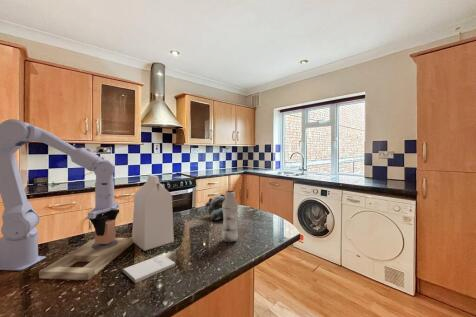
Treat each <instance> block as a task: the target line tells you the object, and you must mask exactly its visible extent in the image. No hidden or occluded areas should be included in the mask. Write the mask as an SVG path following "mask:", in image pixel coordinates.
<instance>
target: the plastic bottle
mask: <svg viewBox="0 0 476 317" xmlns="http://www.w3.org/2000/svg"><path fill="white" fill-rule="evenodd" d="M225 197H226V198H225V200H224V201H223V203H222V209H223V218H222V219H223V220H222V229H221V239H222V240H223V241H224V242H226V243H233V242H235V241H237V240H238V237H239V236H238V235H239V233H238V232H239V231H238V223H237V222H238V221H237V220H238V210H239V202H238V200H237V199H236V191H235V190H226V191H225Z"/></svg>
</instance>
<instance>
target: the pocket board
mask: <svg viewBox="0 0 476 317" xmlns="http://www.w3.org/2000/svg"><path fill="white" fill-rule="evenodd" d="M133 243H134V242H133V238H132V237H115V239H114V240H113V241H111V242H110V243H108V244H95V238H93V239H90V240H89V241H88V242H87V243H84V244H83V245H81V246H79V247H78V248H76V249H74V250H72V251H71V252H68V254H66V255H63V257H61V258H58V259H57V260H56V261H54V262H52V263H51V264H49V265H47V266H45V267H43V268H42V269H40V270H38V278H39V279H49V280H51V279H53V280H55V279H56V280H78V281H90V280H91V279H92V278H93V277H94V276H95V275H96V274H98V273H99V272H100V271H102V269H104V268H105V267H106V266H107V265H109V264H110V263H111V262H112V261H113V260H115V259H116V258H117V257H119V256H120V254H122V253H123V252H125V250H127V249H128V248H129V247H131V245H133ZM77 262H80V263H81V262H85V263H87V264H86V265H84V266H82V267H77V266H76V267H73V265H74V264H76V263H77Z"/></svg>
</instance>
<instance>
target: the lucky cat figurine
mask: <svg viewBox="0 0 476 317" xmlns="http://www.w3.org/2000/svg"><path fill="white" fill-rule="evenodd" d="M225 198H226V195H224V194H223V193H222V194H220V195H217V196H215V197H213V198H212V197H211V198H210V197H209V199H208V201H207V202H206V203H205V207H206V210H207V212H208V214H209V216H210V220H211V219H212V220H215V221H214V222H217V221H218V220H221V219H223V209H222V203H223V201H224V200H225ZM212 220H211V221H212ZM216 220H217V221H216Z"/></svg>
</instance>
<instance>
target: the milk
mask: <svg viewBox="0 0 476 317" xmlns="http://www.w3.org/2000/svg"><path fill="white" fill-rule="evenodd" d="M173 215H174V212H173V196H172V194H171V193H170V191H169V190H168V189H166V188H165V186H164V185H163V183H160V178H159V176H158V175H154V174H148V175H147V180H146V182H145V183H144V184H143V185H142V186H141V187H140V188H139V189H138V190H137V191H136V192H135V194H134V197H133V214H132V232H131V238H133V243H134V244H135V245H137V246H138V247H139V248H140V249H142V250H143V251H148V250H152V249H155V248H158V247H161V246H165V245H167V244H171V243H174V242H175V240H174V217H173Z"/></svg>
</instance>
